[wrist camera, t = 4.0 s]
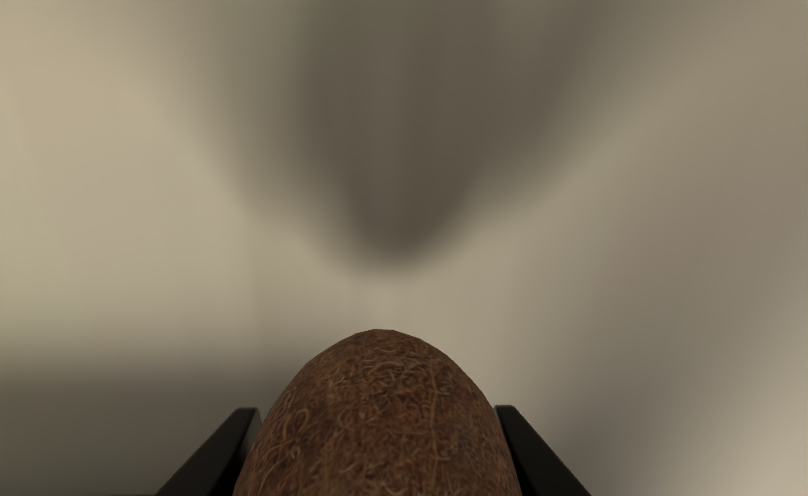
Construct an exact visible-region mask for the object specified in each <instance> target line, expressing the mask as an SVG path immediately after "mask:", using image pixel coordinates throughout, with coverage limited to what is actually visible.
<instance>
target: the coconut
mask: <svg viewBox="0 0 808 496" xmlns="http://www.w3.org/2000/svg"><path fill="white" fill-rule="evenodd" d="M232 496H523V495H522V492H521V488H520V484H519V481H518V477H517V474H516V470H515V467H514V463H513V460H512V457H511V453H510V450H509V447H508V445H507V442H506V440H505V437H504V435H503V432H502V429H501V427H500V425H499V422H498V420H497V418H496V415H495V413H494V411H493V409H492V407H491V405H490V404H489V402H488V401H487V399H486V397H485V396H484V394H483V393H482V392H481V390H480V389H479V388H478V387H477V386H476V384H475V383H474V382H473V381H472V380H471V379H470V378H469V377H468V376H467V375H466V373H465V372H464V371H463V370H462V369H461V368H460V367H459V366H458V365H457V364H456V363H455V362H454V361H453V360H451V359H450V358H449V357H448V356H447V355H446V354H444V353H443V352H441V351H440V350H438V349H437V348H435V347H434V346H432V345H430V344H428V343H426V342H425V341H423V340H421V339H419V338H416V337H413V336H410V335H407V334H404V333H401V332H398V331H394V330H382V329H373V330H368V331H364V332H360V333H356V334H354V335H352V336H350V337H348V338H345V339H343V340H341V341H339V342H338V343H336V344H334V345H333V346H331V347H330V348H328V349H326V350H325V351H323V352H322V353H320V354H319V355H317V356H316V357H314V358H313V359H312V360H310V361H309V362H308V363H307V364H306V365H305V366H304V367H303V368H302V369H301V370H300V372H299V373H298V374H297V375H296V376H295V378H294V379H293V380H292V381H291V383H290V384H289V385H288V386H287V387H286V389H285V390H284V391H283V393H282V394H281V395H280V397H279V398H278V400H277V401H276V403H275V404H274V405H273V407H272V408H271V410H270V412H269V413H268V415H267V417H266V419H265V420H264V422H263V424H262V426H261V427H260V429H259V431H258V433H257V436H256V438H255V440H254V442H253V445H252V447H251V449H250V451H249V454H248V456H247V458H246V461H245V463H244V465H243V468H242V470H241V472H240V475H239V477H238V479H237V482H236V484H235V487H234V491H233V495H232Z"/></svg>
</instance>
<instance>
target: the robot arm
mask: <svg viewBox="0 0 808 496" xmlns="http://www.w3.org/2000/svg"><path fill="white" fill-rule="evenodd" d="M493 411H494V413H495V415H496V418H497V420H498V422H499V425H500V427H501V429H502V432H503V435H504V437H505V440H506V442H507V445H508V447H509V450H510V453H511V457H512V460H513V463H514V467H515V470H516V474H517V477H518V481H519V484H520V488H521V492H522V495H523V496H591V494H590V493H589V492H588V491H587V490H586V489H585V488H584V486H583V485H582V484H581V483H580V482H579V481H578V479H577V478H576V477H575V476H574V475H573V474H572V473H571V471H570V470H569V469H568V468H567V467H566V466H565V464H564V463H563V462H562V461H561V460H560V459H559V458H558V456H557V455H556V454H555V453H554V452H553V451H552V449H551V448H550V447H549V446H548V445H547V444H546V443H545V441H544V440H543V439H542V438H541V437H540V436H539V434H538V433H537V432H536V431H535V430H534V429H533V428H532V426H531V425H530V424H529V423H528V422H527V421H526V419H525V418H524V417H523V416H522V415H521V414H520V413H519V411H518V410H517V409H516V408H515V407H514V406H512V405H495V406H494V408H493ZM261 426H262V422H261V417H260V412H259V409H258V408H257V407H239V408H237V409H236V410H235V411H234V412H233V413H232V414H231V415H230V416H229V417H228V418H227V419H226V420H225V421H224V422H223V423H222V424H221V426H220V427H219V428H218V429H217V430H216V431H215V432H214V433H213V434H212V435H211V436H210V437H209V438H208V439H207V440H206V441H205V442H204V443H203V444H202V445H201V446H200V448H199V449H198V450H197V451H196V452H195V453H194V454H193V455H192V456H191V457H190V458H189V459H188V460H187V461H186V462H185V463H184V464H183V465H182V466H181V467H180V468H179V469H178V471H177V472H176V473H175V474H174V475H173V476H172V477H171V478H170V479H169V480H168V481H167V482H166V483H165V484H164V485H163V486H162V487H161V488H160V489H159V490H158V491H157V492H156V494H155V495H154V496H232V495H233V491H234V487H235V484H236V482H237V479H238V477H239V475H240V472H241V470H242V468H243V465H244V463H245V461H246V458H247V456H248V454H249V451H250V449H251V447H252V445H253V442H254V440H255V438H256V436H257V433H258V431H259V429H260V427H261Z"/></svg>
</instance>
